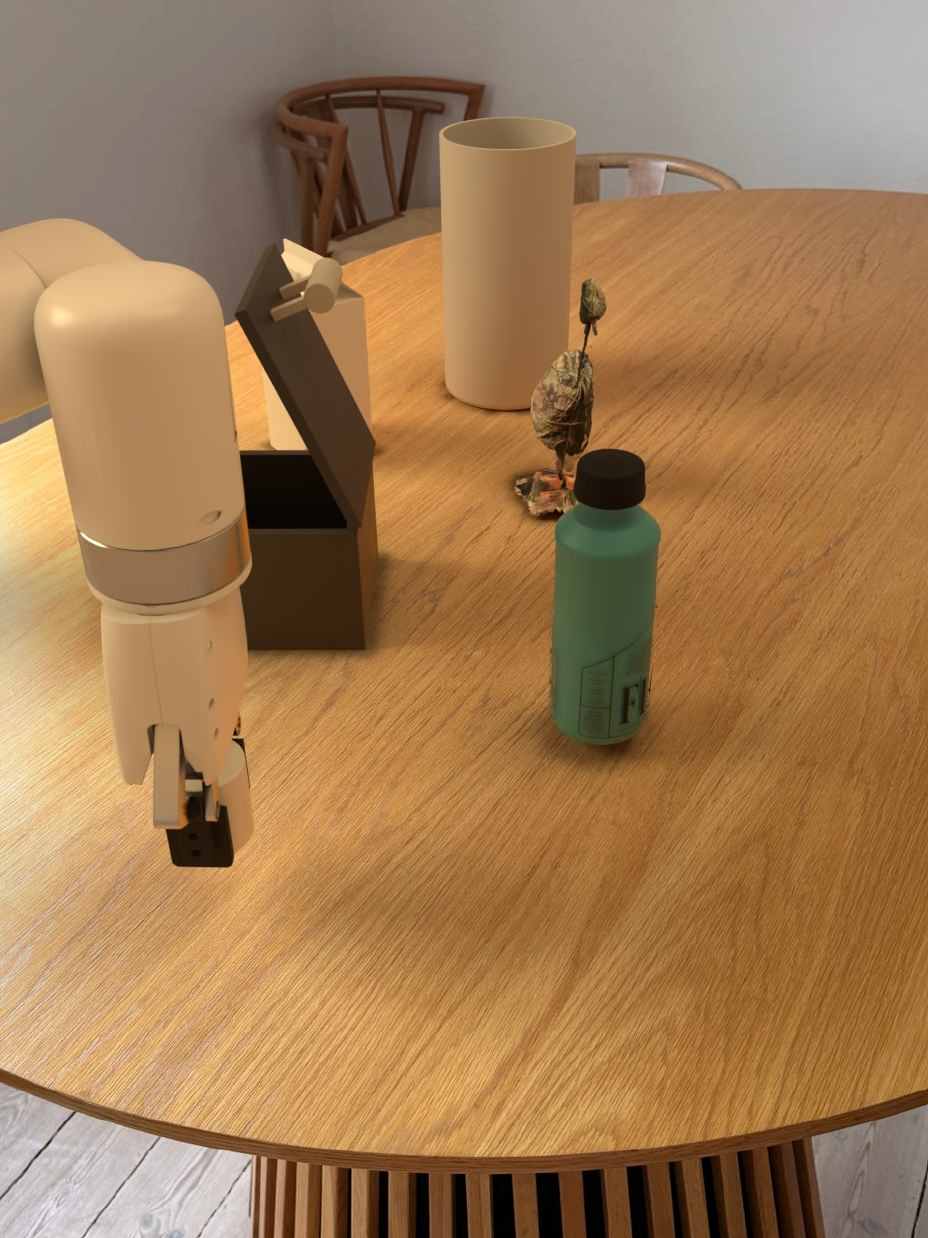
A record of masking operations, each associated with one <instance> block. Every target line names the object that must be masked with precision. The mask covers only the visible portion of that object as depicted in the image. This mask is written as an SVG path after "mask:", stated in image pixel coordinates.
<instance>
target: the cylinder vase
mask: <svg viewBox="0 0 928 1238" xmlns="http://www.w3.org/2000/svg"><path fill="white" fill-rule="evenodd" d="M438 133H439V134H438V138H439V139H438V140H439V142H438V143H439V180H440V184H439V185H440V220H441V221H440V223H441V224H440V225H441V263H442V265H441V266H442V305H443V306H442V307H443V339H444V340H443V349H444V382H445V386H446V388H447V390H448V391H449V393H450V395H452V396H453V397H454V398H456V399H457V400H458V401H461V402H462V403H464V404H466V405H469V406H472V407H476V408H481V409H484V410H485V409H486V410H493V411H494V410H495V411H518V410H526V409H531V398H532V396H533V393H534V390H535V389H536V387H537V385H538V382H539V381H540V380H541V379H542V378H543V377H544V376H545V373H546V372H547V371H548V369H549V368H550V366H551V365H552V364H553V362H554V361H556V360H557V359H558V358H559V356H560V355H562V354H563V353H564V352H566V351H569V340H570V339H569V337H570V311H571V310H570V309H571V287H572V286H571V285H572V284H571V283H572V259H573V258H572V257H573V255H572V253H573V232H574V231H573V229H574V206H575V205H574V203H575V201H574V200H575V180H576V179H575V177H576V175H575V174H576V149H577V148H576V147H577V130H576V129H574V128H573V127H572V126H570V125H569V124H565V123H563V122H559V121H555V120H550V119H543V118H537V117H536V118H535V117H522V116H521V117H519V116H499V117H484V118H483V117H482V118H476V119H469V120H464V121H463V120H462V121H459V122H455V123H452V124H449V125H447V126H445V127H443V128H442V129H441V130H439V132H438Z"/></svg>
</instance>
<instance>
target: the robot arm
mask: <svg viewBox="0 0 928 1238" xmlns="http://www.w3.org/2000/svg"><path fill="white" fill-rule="evenodd" d="M231 377H232V376H231V369H230V359H229V351H228V343H227V335H226V327H225V318H224V313H223V308H222V305H221V303H220V300H219V297H218V295H217V293H216V291H215V290H214V288H213V287H212V286H211V285H210V283H208V281H207V280H206V279H205V277H203V276H202V275H200V274H198V273H197V272H195V271H193V270H192V269H190V268H187V267H185V266H182V265H178V264H174V263H170V262H163V261H155V260H146V259H143V258H141V257H139V256H138V255H136V253H134V252H132V251H131V250H130V249H128V248H127V247H125V246H123V245H122V243H120V242H118V241H117V240H115V239H114V238H113V237H111V236H110V235H108V234H107V233H106V232H104V231H102V230H101V229H99V228H97V227H96V226H94V225H91V224H88V223H87V222H84V221H81V220H77V219H74V218H64V217H61V218H47V219H42V220H38V221H37V220H36V221H33V222H29V223H26V224H23V225H19V226H15V227H13V228H12V227H11V228H9V229H6V230H2V231H0V425H2V424H4V423H6V422H9V421H11V420H14V419H16V418H19V417H20V416H23V415H25V414H27V413H30V412H32V411H35V410H38V409H39V408H42V407H44V406H46V405H49V411H50V413H51V414H50V415H51V418H52V423H53V428H54V433H55V437H56V443H57V447H58V452H59V457H60V461H61V465H62V470H63V474H64V479H65V484H66V489H67V494H68V499H69V503H70V506H71V512H72V517H73V521H74V526H75V530H76V534H77V539H78V544H79V548H80V549H79V550H80V552H81V558H82V562H83V567H84V571H85V578H86V582H87V586H88V589H89V591H90V593H91V594H92V596H93V597H94V598H96V599H97V600H98V601H100V603H102V604H101V610H100V633H101V651H102V652H101V653H102V664H103V665H102V666H103V674H104V675H103V676H104V683H105V693H106V698H107V706H108V712H109V719H110V725H111V726H110V727H111V733H112V738H113V739H112V740H113V745H114V752H115V756H116V757H115V758H116V761H117V768H118V772H119V773H118V774H119V775H120V777H121V779H122V781H123V782H124V783H125V784H126V785H127V786H133V785H135V786H136V785H137V786H142V785H143V784H144V781H145V778H146V775H147V771H148V769H149V766H150V764H151V760H152V758H153V790H152V791H153V792H152V793H153V797H152V799H153V801H152V803H153V804H152V805H153V806H152V825H153V828H154V829H156V830H165V834H166V839H167V844H168V849H169V854H170V855H169V856H170V859H171V863H172V865H174V866H175V867H178V868H217V869H218V868H221V869H222V868H223V869H226V868H230V867H232V866H233V864H234V860H235V853H234V849H233V843H232V836H231V830H230V823H229V817H228V810H227V806H223V805H220V800H219V788H218V777H219V776H220V775H221V773H222V771H223V768H224V765H225V762H226V759H227V755H228V751H229V748H230V744H231V740H233V741H235V742H236V743H237V744H238V745H239V746H240V747H241V748H242V750H243V751H244V754H245V760H246V767H247V775H248V782H249V789H250V790H251V783H250V774H249V767H248V761H247V753H246V746H245V739H244V738H243V737H242V738H241V737H239V736H241V732H242V716H241V712H240V709H241V706H242V702H243V697H244V693H245V690H246V684H247V677H248V670H249V650H248V649H247V637H246V628H245V620H244V613H243V606H242V600H241V594H240V588H239V586H240V585H241V584H243V583H244V581H245V580H246V579H247V577H248V575H249V574H250V571H251V567H252V556H251V546H250V538H249V529H248V521H247V512H246V504H245V496H244V487H243V478H242V470H241V461H240V453H239V450H240V445H239V437H238V436H239V435H238V428H237V420H236V412H235V404H234V394H233V386H232V378H231ZM185 780H200V781H202V789H203V797H197V796H191V797H188V796H186V795H185Z"/></svg>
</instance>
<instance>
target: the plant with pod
mask: <svg viewBox="0 0 928 1238" xmlns="http://www.w3.org/2000/svg"><path fill="white" fill-rule="evenodd" d="M580 290H581V291H580V292H581V294H580V298H579V299H580V303H579V304H580V306H579V312H578V315H579V322H580V323H581V324H582V325H584V329H583V334H584V336H583V337H584V338H583V346H582V349H581V350H580V349H570V350H568V351H566V352H564V353H563V354H562V355H560V356H559V358H558V359H557V360H556V361H554V362H553V364H552V365H551V366H550V368H549V369H548V371H547V372H546V373H545V376H544V377H543V378H542V379H541V380H540V381H539V382H538V385H537V387H536V389H535V390H534V393H533V396H532V398H531V408H530V419H531V421H532V425H533V428H534V431H535V433H536V435H537V436H536V438H537V439H538V440H539V441H540V442H541V443H542V444H543V446H545V447H546V448H548V449H549V450H552V451H554V452H555V459H554V460H555V461H554V467H555V469H550V468H548V467H544V468H543V467H542V468H540V469H538V470H536V471H535V472H534V473H529V474H524V475H519V476H518V475H516V476H515V477H516V478H515V480H514V482H515V483H514V484H515V486H513V488H514V492H515V495H518V496H519V497H522V499H521V501H522V502H524V503H527V507H529V508H528V510H529V511H530V512H529V514H530V515H533V516H539V517H540V516H541V514H542V515H546V514H548V513H555V510H556V511H558V513H560V514H561V512H563V514H564V513H566V512H567V511H568V510H569V509H571V508H572V507H574V506H575V505H577V504H579V503H580V501H578V500H577V499H576V497H575V496H574V492H573V491H574V481H575V478H576V470H577V469H574V467H575V465H576V464H577V463H578V461H579V459H580V458H581V457H582V456H583V453H584V452H585V451H586V448H587V446H588V445H589V439H590V436H591V433H592V427H593V416H592V412H593V408H594V401H595V399H594V398H595V396H594V388H593V386H594V382H593V374H594V366H593V362H592V361H591V360H590V358H589V354H588V353H587V352H585V351H586V348H587V347H588V348H593V347H594V346H593V345H588V340H589V336H590V332H591V331H592V333H593V335H594V336H595V337H597V336H598V334H599V333H598V329H597V325H598V324H597V322H598V321H600V320H601V319H602V318H603V316H605V313H606V311H607V306H608V305H607V299H606V296H605V293H604V292H603V290H602V288H601V286H600V285H599V283H598V282H597V281H596V279H595V278H594V277H590V278H589V279H585V280H584V281H583V282H582V283H581V289H580ZM591 328H592V330H591ZM587 345H588V346H587Z"/></svg>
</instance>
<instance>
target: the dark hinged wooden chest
mask: <svg viewBox="0 0 928 1238" xmlns="http://www.w3.org/2000/svg"><path fill="white" fill-rule="evenodd" d="M239 453H240V461H241V470H242V478H243V487H244V496H245V504H246V512H247V521H248V529H249V538H250V546H251V556H252V567H251V571H250V574H249V575H248V577H247V579H246V580H245V581H244V583H243V584H241V585H240V586H239V588H240V594H241V600H242V606H243V613H244V620H245V628H246V637H247V649H248V651H366V649H367V643H368V636H369V628H370V621H371V615H372V607H373V601H374V593H375V586H376V578H377V572H378V564H379V544H378V542H379V541H378V527H377V512H376V511H377V510H376V497H375V481H374V463H373V462H374V461H373V462H372V468H371V474H370V480H369V486H368V492H367V498H366V504H365V510H364V516H363V522H362V526H361V527H359V528H356V529H353V530H351V528H350V526H349V525H348V523H347V521H346V519H345V517H344V515H343V513H342V512H341V510H340V508H339V506H338V504H337V502H336V501H335V499H334V497H333V495H332V493H331V491H330V490H329V488H328V486H327V484H326V482H325V480H324V479H323V477H322V475H321V473H320V471H319V469H318V468H317V466H316V464H315V462H314V460H313V458H312V456H311V455H310V453H309V451H308V450H276V449H243V450H242V449H239Z"/></svg>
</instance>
